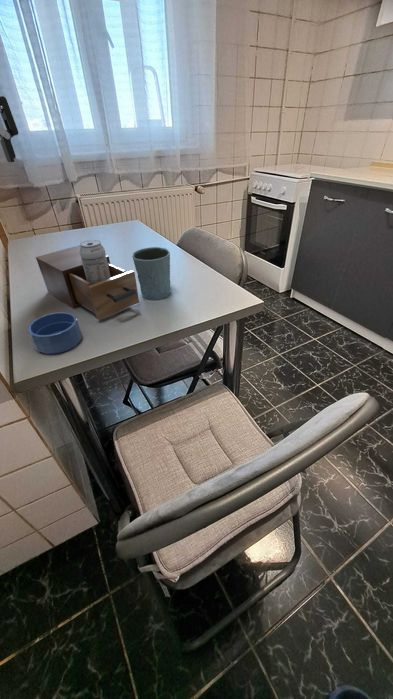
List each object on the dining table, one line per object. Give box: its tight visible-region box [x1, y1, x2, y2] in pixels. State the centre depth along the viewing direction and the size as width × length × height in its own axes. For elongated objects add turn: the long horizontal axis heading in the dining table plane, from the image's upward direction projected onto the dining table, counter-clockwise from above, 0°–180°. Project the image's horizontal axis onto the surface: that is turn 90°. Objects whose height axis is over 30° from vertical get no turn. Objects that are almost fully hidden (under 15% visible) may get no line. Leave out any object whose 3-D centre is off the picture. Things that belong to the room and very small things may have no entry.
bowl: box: [27, 311, 83, 355], centre depth 66 cm, size 10×10×5 cm
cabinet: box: [35, 244, 111, 309], centre depth 86 cm, size 16×14×11 cm
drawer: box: [66, 263, 140, 321], centre depth 77 cm, size 19×13×9 cm
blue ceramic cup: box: [131, 246, 172, 301], centre depth 83 cm, size 10×10×12 cm
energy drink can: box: [79, 239, 111, 285], centre depth 76 cm, size 6×6×15 cm
